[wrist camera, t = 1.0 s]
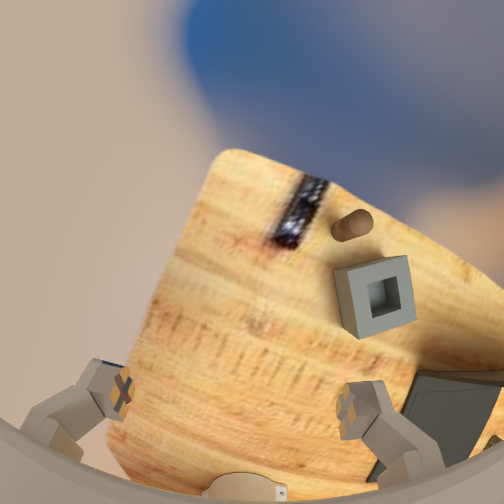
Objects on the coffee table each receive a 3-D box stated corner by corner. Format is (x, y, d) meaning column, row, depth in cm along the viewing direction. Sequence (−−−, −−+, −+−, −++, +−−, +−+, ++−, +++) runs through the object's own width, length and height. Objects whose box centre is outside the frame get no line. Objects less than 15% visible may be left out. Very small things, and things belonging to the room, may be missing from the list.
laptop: (364, 480, 42) (402, 556, 16) (424, 341, 44) (520, 382, 18) (461, 462, 41) (508, 507, 14) (510, 347, 42) (581, 368, 16)
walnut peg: (352, 239, 45) (376, 232, 35) (333, 243, 45) (353, 237, 35) (348, 219, 45) (369, 207, 35) (329, 223, 45) (346, 211, 35)
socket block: (394, 312, 44) (416, 319, 36) (343, 328, 44) (359, 339, 36) (384, 257, 45) (406, 255, 37) (332, 270, 45) (347, 271, 37)
